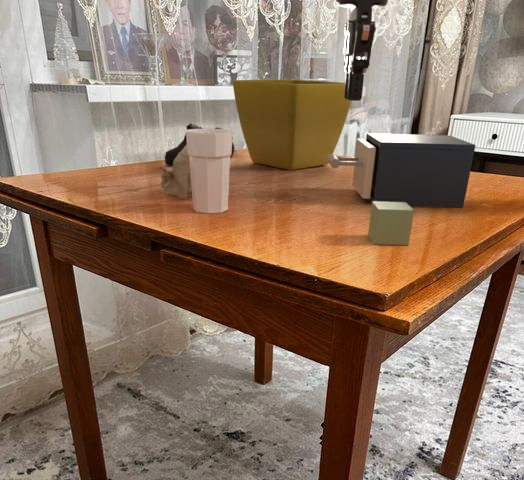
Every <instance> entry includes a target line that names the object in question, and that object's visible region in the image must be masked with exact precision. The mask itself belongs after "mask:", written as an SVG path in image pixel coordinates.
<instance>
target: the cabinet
mask: <svg viewBox="0 0 524 480" xmlns="http://www.w3.org/2000/svg"><path fill="white" fill-rule="evenodd" d="M365 140H366V141H367V142H368V143H370V144H371V145H372V142H373V143H375V144H376V145H377V146H379V154H378V162H377V170H376V178H375V186H374V192H373V190H372V189H371V194H370V199H368V201H369V202H370V203H371V204H372V201H380V202H406V203H407V204H408V205H409V206H410V207H415V208H416V207H417V208H419V207H420V208H452V209H453V208H455V209H456V208H457V209H463V208H464V205H465V200H466V196H467V191H468V185H469V181H470V180H469V179H470V175H471V171H472V170H471V169H472V165H473V160H474V155H475V150H476V144H474V143H471V142H469V141H466V140H463V139H461V138H457V137H455V136H452V135H445V134H444V135H442V134H441V135H440V134H411V133H409V134H407V133H406V134H405V133H375V132H367V133H366V137H365Z"/></svg>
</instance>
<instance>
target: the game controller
mask: <svg viewBox="0 0 524 480" xmlns="http://www.w3.org/2000/svg"><path fill="white" fill-rule="evenodd" d="M188 129H204V127H202V126H199V125H197V124H195V123H189V124H188V125H186V130H188ZM214 129H222V128H221V127H218V126H217V127H215V128H214ZM233 140H234V138H233V136H232V153H231V156H230V160H232V158H233V156H234V154H235V150H236V149H235V144H234V142H233ZM186 144H187V139H186V133H185V134H184V137H183V140H182V141H181V142H180V143H179V144H178V145H177V146H176V147H173V148H171V149H169V150H167V151H166V152H165V155H164V162H165V164H166V165H167V166H168V167H173V162H174V159H175V158H176V157H177V155H178V153H179V152H181V151H182V150H183V148H184V147H185V146H186Z"/></svg>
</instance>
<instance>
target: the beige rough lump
mask: <svg viewBox="0 0 524 480" xmlns="http://www.w3.org/2000/svg"><path fill="white" fill-rule="evenodd" d="M160 179H161V181H160V186H161V188H162V189H163V191H164V192H165V195H173V196H174V197H175V196H176V197H177V198H178V199H179V200H186V199H187V195H188V194H192V186H191V174H190V163H189V154H188V152H187V144H186V146H185V147H184V148H183V150H182V151H181V152H179V153H178V155H177V157H176V158H175V159H174V162H173V165H172V166H164V167H163V171H161V172H160Z"/></svg>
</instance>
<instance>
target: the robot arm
mask: <svg viewBox="0 0 524 480" xmlns="http://www.w3.org/2000/svg"><path fill="white" fill-rule="evenodd" d="M335 3H336V5H337V6H338V7H341V8H348V9H350V13H349V19H348V20H347V21H345V23H344V30H343V31H344V45H343V55H344V56H343V64H342V65H343V69H344V72H345V73H344V74H345V80H344V83H345V91H344V98H345V99H348V100H350V101H351V102H352V101H353V102H355V101H356V102H359V101H362V98H363V89H364V81H365V79H364V78H365V74H366V72H367V70H368V69H369V67H370V60H371V55H372V49H373V43H374V37H375V33H376V30H377V29H376V28H377V27H376V21H375V20H373V9H380V8H385V7H386V6H387V5H388V3H389V0H336V1H335Z"/></svg>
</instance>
